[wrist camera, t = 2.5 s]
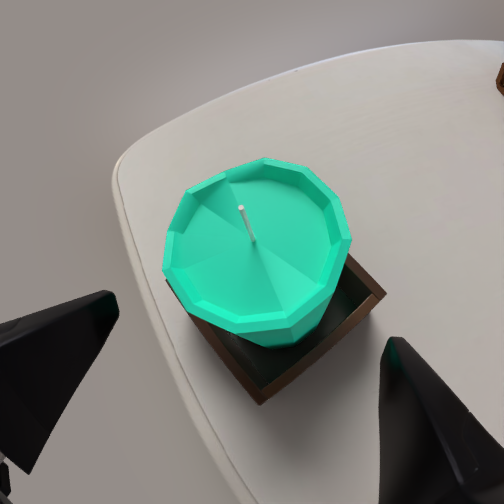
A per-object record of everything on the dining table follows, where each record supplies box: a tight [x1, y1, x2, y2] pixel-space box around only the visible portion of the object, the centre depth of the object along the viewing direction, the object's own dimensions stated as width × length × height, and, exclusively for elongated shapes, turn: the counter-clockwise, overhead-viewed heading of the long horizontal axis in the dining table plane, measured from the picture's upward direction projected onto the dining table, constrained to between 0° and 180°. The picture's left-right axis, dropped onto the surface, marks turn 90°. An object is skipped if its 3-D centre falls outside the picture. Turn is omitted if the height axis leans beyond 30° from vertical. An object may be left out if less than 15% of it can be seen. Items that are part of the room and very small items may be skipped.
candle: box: [162, 158, 352, 350], centre depth 13 cm, size 6×6×12 cm
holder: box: [166, 253, 387, 406], centre depth 16 cm, size 9×9×4 cm
